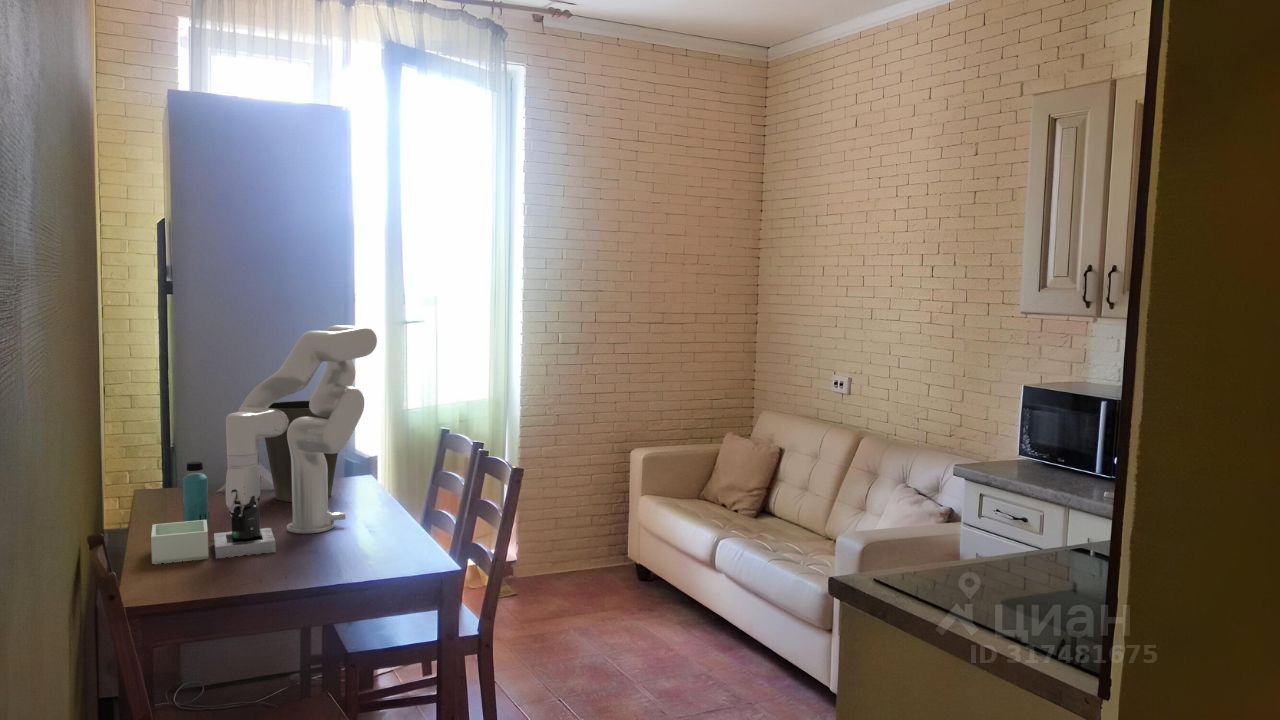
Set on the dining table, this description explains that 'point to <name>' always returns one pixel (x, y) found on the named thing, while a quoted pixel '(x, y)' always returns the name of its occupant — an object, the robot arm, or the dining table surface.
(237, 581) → the dining table surface
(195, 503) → the beverage bottle
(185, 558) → the bin
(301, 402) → the waste basket
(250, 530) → the supplement bottle
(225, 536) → the socket block
